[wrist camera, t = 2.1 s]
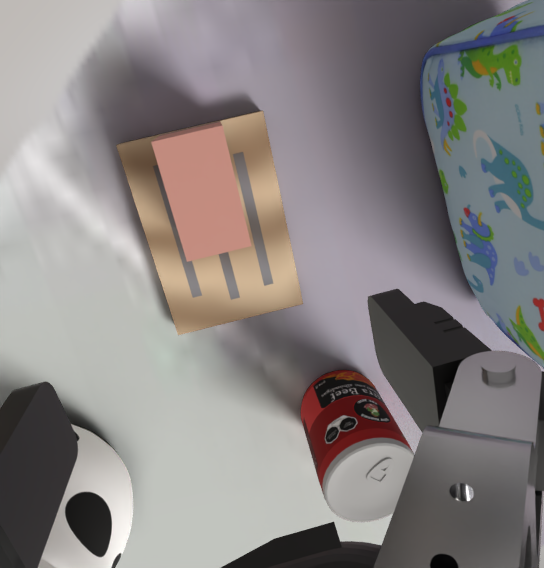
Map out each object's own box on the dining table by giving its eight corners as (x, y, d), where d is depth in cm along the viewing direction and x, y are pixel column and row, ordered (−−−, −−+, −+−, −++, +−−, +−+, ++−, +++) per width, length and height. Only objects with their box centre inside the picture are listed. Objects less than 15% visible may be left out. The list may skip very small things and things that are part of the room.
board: (119, 143, 36) (116, 145, 35) (260, 110, 37) (263, 111, 36) (179, 327, 42) (178, 335, 41) (299, 297, 43) (303, 303, 42)
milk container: (-62, 397, 42) (-238, 593, 25) (142, 404, 45) (104, 585, 28) (-44, 545, 48) (-177, 783, 31) (136, 543, 51) (101, 761, 34)
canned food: (386, 374, 47) (436, 451, 37) (359, 440, 50) (398, 529, 39) (313, 359, 45) (344, 435, 35) (288, 429, 48) (311, 518, 38)
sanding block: (159, 135, 35) (151, 142, 30) (220, 121, 35) (222, 125, 30) (189, 238, 38) (187, 261, 33) (245, 224, 38) (251, 246, 33)
